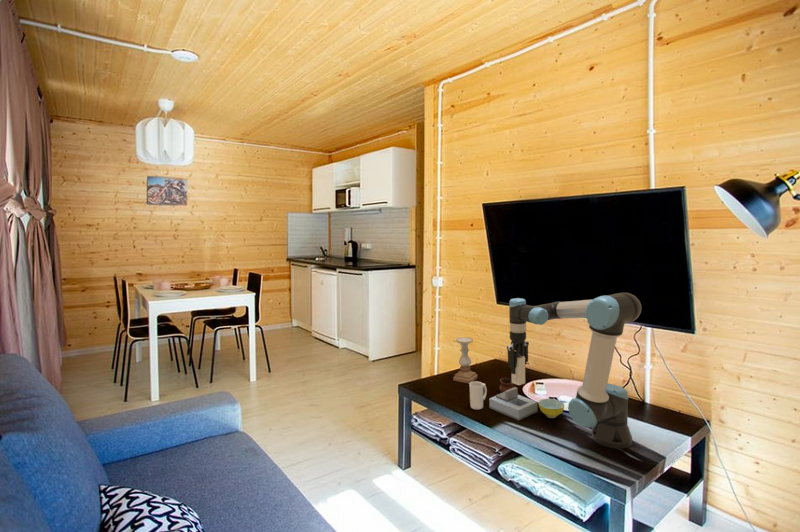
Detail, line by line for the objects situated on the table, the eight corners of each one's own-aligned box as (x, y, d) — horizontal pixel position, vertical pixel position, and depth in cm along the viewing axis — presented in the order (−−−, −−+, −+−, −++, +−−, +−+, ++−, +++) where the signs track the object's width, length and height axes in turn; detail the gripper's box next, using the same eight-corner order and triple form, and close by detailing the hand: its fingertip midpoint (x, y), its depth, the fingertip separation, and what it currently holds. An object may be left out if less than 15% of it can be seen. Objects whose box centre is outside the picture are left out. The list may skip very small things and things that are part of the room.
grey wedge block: (517, 397, 217) (517, 387, 216) (507, 401, 212) (507, 392, 212) (505, 392, 223) (505, 383, 222) (495, 396, 218) (495, 387, 218)
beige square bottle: (517, 380, 213) (517, 351, 212) (525, 383, 210) (524, 353, 208) (511, 382, 211) (511, 353, 209) (519, 385, 207) (518, 355, 206)
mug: (475, 411, 215) (475, 387, 214) (467, 406, 221) (466, 383, 220) (491, 405, 220) (490, 382, 219) (482, 401, 226) (482, 378, 225)
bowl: (558, 424, 199) (558, 411, 198) (534, 417, 206) (534, 404, 206) (568, 415, 207) (568, 402, 206) (544, 408, 215) (544, 396, 214)
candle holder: (452, 380, 257) (451, 340, 254) (461, 374, 266) (460, 336, 263) (469, 383, 250) (468, 343, 248) (478, 377, 259) (477, 338, 257)
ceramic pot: (523, 386, 244) (522, 374, 243) (526, 400, 226) (525, 386, 226) (490, 386, 247) (489, 374, 246) (490, 399, 230) (490, 386, 229)
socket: (537, 411, 212) (537, 401, 211) (518, 420, 203) (518, 410, 203) (508, 400, 226) (507, 390, 226) (489, 408, 218) (489, 398, 217)
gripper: (523, 326, 216) (523, 372, 218) (499, 333, 205) (499, 381, 208) (536, 329, 210) (536, 376, 212) (511, 336, 199) (512, 385, 202)
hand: (518, 378), depth 210 cm, fingers closed on beige square bottle, 4 cm apart
